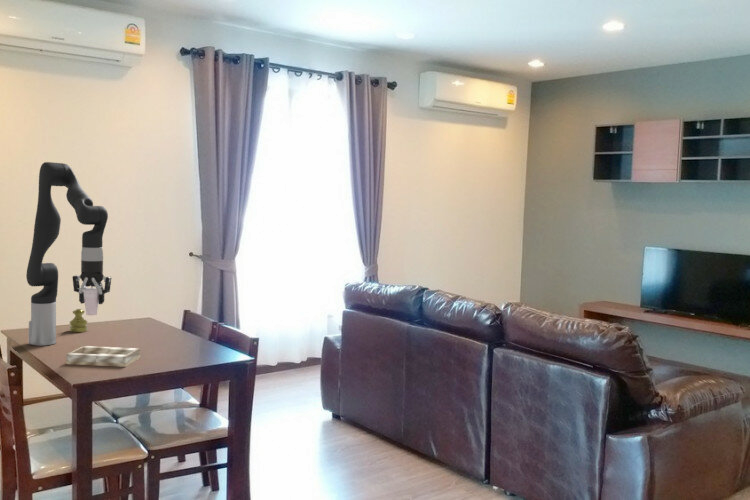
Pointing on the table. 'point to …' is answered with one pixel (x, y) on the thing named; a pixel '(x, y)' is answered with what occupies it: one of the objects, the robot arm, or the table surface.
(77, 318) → the olive green stacked toy
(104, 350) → the cream rectangular tray
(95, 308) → the smoothie
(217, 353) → the table surface
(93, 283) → the robot arm
